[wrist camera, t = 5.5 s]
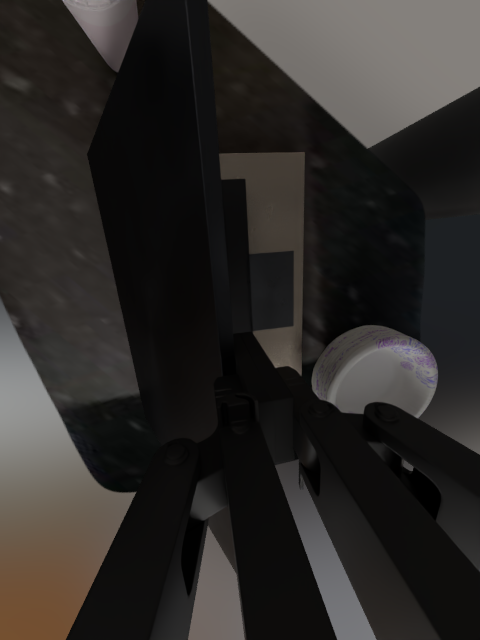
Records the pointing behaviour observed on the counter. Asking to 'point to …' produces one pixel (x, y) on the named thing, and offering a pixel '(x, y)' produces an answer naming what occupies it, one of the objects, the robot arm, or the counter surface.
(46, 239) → the counter surface
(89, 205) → the counter surface
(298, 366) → the laptop
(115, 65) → the smoothie
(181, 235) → the laptop screen
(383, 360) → the paper bowls
